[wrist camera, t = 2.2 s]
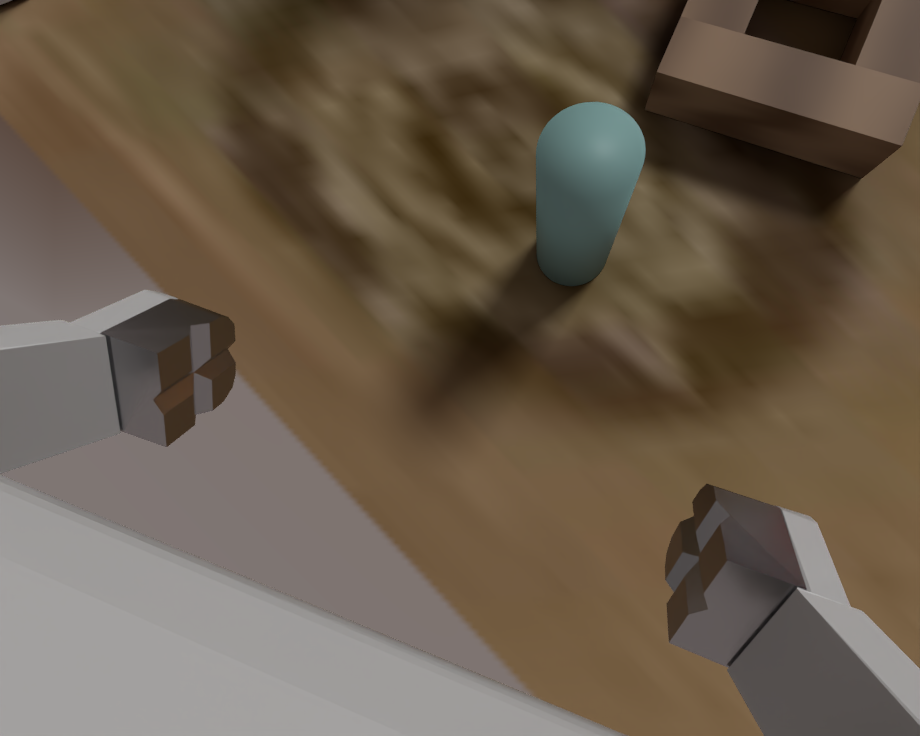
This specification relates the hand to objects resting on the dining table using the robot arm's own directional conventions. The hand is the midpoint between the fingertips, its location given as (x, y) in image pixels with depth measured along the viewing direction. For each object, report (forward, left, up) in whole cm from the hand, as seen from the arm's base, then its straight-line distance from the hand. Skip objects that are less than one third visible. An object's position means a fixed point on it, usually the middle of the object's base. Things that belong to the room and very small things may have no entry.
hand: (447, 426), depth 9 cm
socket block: (+5, +24, -19) cm, 31 cm away
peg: (-1, +10, -19) cm, 21 cm away
